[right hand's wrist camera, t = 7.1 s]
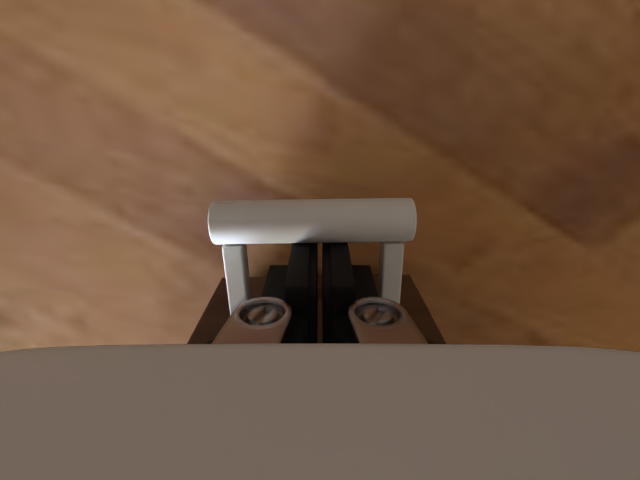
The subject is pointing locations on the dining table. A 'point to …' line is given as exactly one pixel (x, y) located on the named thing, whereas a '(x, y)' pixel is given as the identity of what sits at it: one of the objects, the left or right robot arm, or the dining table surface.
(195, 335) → the drawer
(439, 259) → the dining table surface
